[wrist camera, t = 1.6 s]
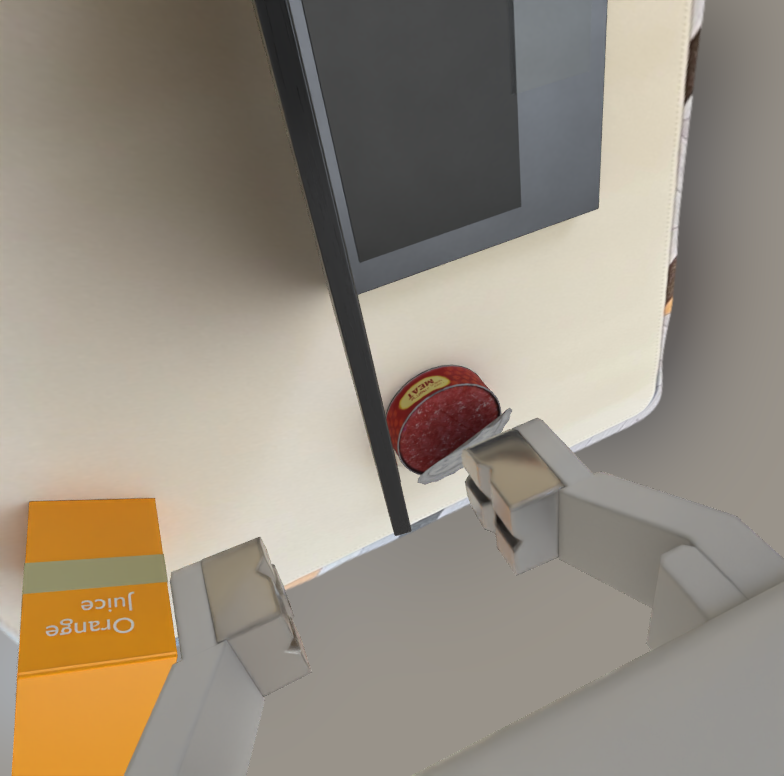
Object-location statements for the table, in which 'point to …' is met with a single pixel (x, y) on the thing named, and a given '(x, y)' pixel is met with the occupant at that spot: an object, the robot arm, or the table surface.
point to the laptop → (453, 122)
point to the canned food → (442, 420)
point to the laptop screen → (329, 237)
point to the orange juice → (90, 636)
